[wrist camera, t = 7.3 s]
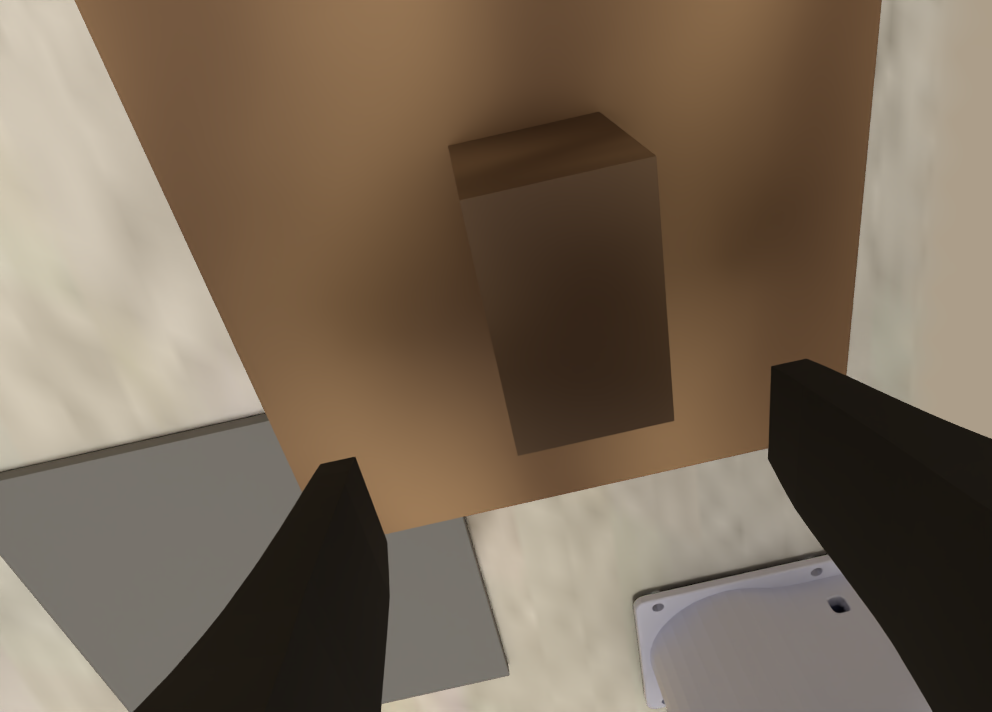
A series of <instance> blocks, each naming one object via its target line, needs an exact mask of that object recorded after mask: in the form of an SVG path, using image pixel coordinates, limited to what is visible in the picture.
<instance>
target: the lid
mask: <svg viewBox="0 0 992 712" xmlns="http://www.w3.org/2000/svg"><path fill="white" fill-rule="evenodd" d="M75 2H76V4H77V7H78V9H79V11H80V13H81V15H82V17H83V20H84V22H85V24H86V26H87V28H88V30H89V33H90V35H91V37H92V39H93V41H94V43H95V46H96V48H97V50H98V52H99V54H100V56H101V58H102V61H103V63H104V65H105V67H106V69H107V71H108V74H109V76H110V78H111V80H112V82H113V84H114V87H115V89H116V91H117V93H118V95H119V97H120V100H121V102H122V104H123V106H124V108H125V110H126V113H127V115H128V117H129V119H130V121H131V123H132V126H133V128H134V130H135V132H136V134H137V136H138V139H139V141H140V143H141V145H142V147H143V149H144V152H145V154H146V156H147V158H148V160H149V162H150V164H151V167H152V169H153V171H154V173H155V175H156V177H157V180H158V182H159V184H160V186H161V188H162V190H163V193H164V195H165V197H166V199H167V201H168V203H169V206H170V208H171V210H172V212H173V214H174V216H175V219H176V221H177V223H178V225H179V227H180V229H181V232H182V234H183V236H184V238H185V240H186V242H187V245H188V247H189V249H190V251H191V253H192V255H193V257H194V260H195V262H196V264H197V266H198V268H199V270H200V273H201V275H202V277H203V279H204V281H205V283H206V286H207V288H208V290H209V292H210V294H211V296H212V299H213V301H214V303H215V305H216V307H217V309H218V312H219V314H220V316H221V318H222V320H223V322H224V325H225V327H226V329H227V331H228V333H229V335H230V338H231V340H232V342H233V344H234V346H235V348H236V351H237V353H238V355H239V357H240V359H241V361H242V363H243V366H244V368H245V370H246V372H247V374H248V376H249V379H250V381H251V383H252V385H253V387H254V389H255V392H256V394H257V396H258V398H259V400H260V402H261V405H262V407H263V409H264V411H265V413H266V415H267V418H268V420H269V422H270V424H271V426H272V428H273V431H274V433H275V435H276V437H277V439H278V441H279V444H280V446H281V448H282V450H283V452H284V454H285V457H286V459H287V461H288V463H289V465H290V467H291V469H292V472H293V474H294V476H295V478H296V480H297V482H298V485H299V487H300V489H301V491H302V492H303V490H304V489H305V487H306V485H307V484H308V482H309V480H310V479H311V477H312V476H313V474H314V473H315V471H316V470H317V468H318V467H319V465H320V464H323V463H327V462H332V461H337V460H341V459H346V458H350V457H356V460H357V462H358V465H359V468H360V470H361V473H362V476H363V478H364V481H365V484H366V486H367V489H368V492H369V494H370V497H371V500H372V502H373V505H374V508H375V510H376V513H377V515H378V518H379V521H380V523H381V526H382V529H383V531H384V534H389V533H393V532H398V531H402V530H407V529H411V528H415V527H420V526H424V525H429V524H433V523H438V522H442V521H447V520H451V519H455V518H460V517H464V516H469V515H473V514H478V513H482V512H486V511H491V510H495V509H500V508H504V507H509V506H513V505H518V504H522V503H526V502H531V501H535V500H540V499H544V498H549V497H553V496H558V495H562V494H566V493H571V492H575V491H580V490H584V489H589V488H593V487H598V486H602V485H606V484H611V483H615V482H620V481H624V480H629V479H633V478H637V477H642V476H646V475H651V474H655V473H660V472H664V471H669V470H673V469H677V468H682V467H686V466H691V465H695V464H700V463H704V462H709V461H713V460H717V459H722V458H726V457H731V456H735V455H740V454H744V453H748V452H753V451H757V450H762V449H766V448H768V445H769V414H770V384H771V366H774V365H778V364H783V363H788V362H792V361H797V360H802V359H809V360H812V361H814V362H817V363H819V364H821V365H824V366H826V367H828V368H831V369H833V370H835V371H837V372H839V373H842V374H844V375H846V373H847V362H848V351H849V341H850V330H851V320H852V309H853V298H854V288H855V277H856V267H857V256H858V246H859V235H860V224H861V214H862V203H863V193H864V182H865V171H866V161H867V150H868V140H869V129H870V119H871V108H872V97H873V87H874V76H875V66H876V55H877V44H878V34H879V23H880V13H881V2H882V0H75Z"/></svg>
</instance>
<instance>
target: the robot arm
mask: <svg viewBox="0 0 992 712" xmlns="http://www.w3.org/2000/svg"><path fill="white" fill-rule="evenodd" d="M768 460H769V462H770V464H771V465H772V467H773V469H774V471H775V473H776V475H777V477H778V479H779V481H780V483H781V485H782V486H783V488H784V490H785V492H786V494H787V495H788V497H789V499H790V501H791V502H792V504H793V506H794V508H795V509H796V511H797V512H798V514H799V515H800V516H801V518H802V519H803V521H804V522H805V523H806V525H807V526H808V528H809V529H810V530H811V532H812V533H813V534H814V536H815V537H816V539H817V540H818V541H819V543H820V544H821V546H822V547H823V548H824V550H825V551H826V552H827V554H828V555H823V556H819V557H814V558H810V559H806V560H801V561H797V562H792V563H788V564H783V565H779V566H774V567H770V568H765V569H761V570H756V571H752V572H747V573H743V574H738V575H734V576H729V577H725V578H721V579H716V580H712V581H707V582H703V583H698V584H694V585H689V586H685V587H680V588H676V589H671V590H667V591H662V592H658V593H653V594H649V595H645V596H641V597H639V598H638V599H636V600H635V602H634V604H633V608H634V616H635V624H636V632H637V640H638V648H639V656H640V664H641V672H642V680H643V688H644V695H645V700H646V704H647V706H648V707H649V708H652V709H657V708H662V707H666V708H667V711H668V712H992V439H991V438H988V437H985V436H983V435H980V434H978V433H975V432H973V431H970V430H968V429H965V428H962V427H960V426H958V425H955V424H953V423H950V422H948V421H946V420H943V419H941V418H939V417H936V416H934V415H932V414H929V413H927V412H925V411H922V410H920V409H918V408H916V407H913V406H911V405H909V404H907V403H905V402H902V401H900V400H898V399H896V398H894V397H891V396H889V395H887V394H885V393H883V392H880V391H878V390H876V389H874V388H872V387H870V386H868V385H865V384H863V383H861V382H859V381H857V380H855V379H852V378H850V377H848V376H846V375H844V374H842V373H839V372H837V371H835V370H833V369H831V368H828V367H826V366H824V365H821V364H819V363H817V362H814V361H812V360H809V359H802V360H797V361H792V362H788V363H783V364H778V365H774V366H771V384H770V414H769V445H768ZM389 602H390V586H389V563H388V544H387V539H386V537H385V534H384V531H383V529H382V526H381V523H380V521H379V518H378V515H377V513H376V510H375V508H374V505H373V502H372V500H371V497H370V494H369V492H368V489H367V486H366V484H365V481H364V478H363V476H362V473H361V470H360V468H359V465H358V462H357V460H356V457H350V458H346V459H341V460H337V461H332V462H327V463H323V464H320V465H319V467H318V468H317V470H316V471H315V473H314V474H313V476H312V477H311V479H310V480H309V482H308V484H307V485H306V487H305V489H304V490H303V492H302V493H301V495H300V497H299V498H298V500H297V501H296V503H295V505H294V506H293V508H292V510H291V511H290V513H289V514H288V516H287V518H286V519H285V521H284V522H283V524H282V526H281V527H280V529H279V530H278V532H277V533H276V535H275V536H274V538H273V539H272V541H271V542H270V544H269V545H268V547H267V548H266V550H265V551H264V553H263V555H262V556H261V558H260V559H259V561H258V562H257V564H256V565H255V566H254V568H253V569H252V571H251V572H250V574H249V575H248V576H247V578H246V579H245V580H244V582H243V583H242V585H241V586H240V587H239V589H238V590H237V591H236V593H235V594H234V596H233V597H232V598H231V600H230V601H229V603H228V604H227V605H226V607H225V608H224V609H223V611H222V612H221V613H220V615H219V616H218V617H217V618H216V620H215V621H214V622H213V623H212V625H211V626H210V627H209V628H208V629H207V631H206V632H205V633H204V634H203V636H202V637H201V638H200V639H199V640H198V641H197V643H196V644H195V645H194V646H193V647H192V648H191V650H190V651H189V652H188V653H187V654H186V655H185V657H184V658H183V659H182V660H181V661H180V662H179V664H178V665H177V666H176V667H175V668H174V669H173V670H172V671H171V673H170V674H169V675H168V676H167V677H166V678H165V679H164V680H163V681H162V682H161V683H160V684H159V685H158V686H157V687H156V688H155V689H154V690H153V691H152V693H151V694H150V695H149V696H148V697H147V698H146V699H145V700H144V701H143V702H142V703H141V704H140V705H139V706H138V707H137V708H136V709H135V710H134V711H133V712H381V704H382V692H383V679H384V667H385V655H386V643H387V630H388V616H389Z"/></svg>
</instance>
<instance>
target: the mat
mask: <svg viewBox="0 0 992 712" xmlns="http://www.w3.org/2000/svg"><path fill="white" fill-rule="evenodd" d="M301 493H302V491H301V489H300V487H299V485H298V482H297V480H296V478H295V476H294V474H293V472H292V469H291V467H290V465H289V463H288V461H287V459H286V457H285V454H284V452H283V450H282V448H281V446H280V444H279V441H278V439H277V437H276V435H275V433H274V431H273V428H272V426H271V424H270V422H269V420H268V418H267V415H266V414H261V415H257V416H252V417H248V418H243V419H239V420H234V421H230V422H225V423H221V424H216V425H212V426H207V427H203V428H199V429H194V430H190V431H185V432H181V433H176V434H172V435H167V436H163V437H158V438H154V439H149V440H145V441H140V442H136V443H131V444H127V445H122V446H118V447H113V448H109V449H104V450H100V451H95V452H91V453H86V454H82V455H78V456H73V457H69V458H64V459H60V460H55V461H51V462H46V463H42V464H37V465H33V466H28V467H24V468H19V469H15V470H10V471H6V472H1V473H0V556H1V557H2V558H3V559H4V561H5V562H6V563H7V564H8V565H9V567H10V568H11V569H12V570H13V571H14V573H15V574H16V575H17V576H18V577H19V579H20V580H21V581H22V582H23V584H24V585H25V586H26V587H27V588H28V590H29V591H30V592H31V593H32V594H33V596H34V597H35V598H36V599H37V601H38V602H39V603H40V604H41V605H42V607H43V608H44V609H45V610H46V611H47V613H48V614H49V615H50V616H51V618H52V619H53V620H54V621H55V622H56V624H57V625H58V626H59V627H60V628H61V630H62V631H63V632H64V633H65V634H66V636H67V637H68V638H69V639H70V641H71V642H72V643H73V644H74V645H75V647H76V648H77V649H78V650H79V651H80V653H81V654H82V655H83V656H84V658H85V659H86V660H87V661H88V662H89V664H90V665H91V666H92V667H93V668H94V670H95V671H96V672H97V673H98V674H99V676H100V677H101V678H102V679H103V681H104V682H105V683H106V684H107V685H108V687H109V688H110V689H111V690H112V691H113V693H114V694H115V695H116V696H117V698H118V699H119V700H120V701H121V702H122V704H123V705H124V706H125V707H126V708H127V710H128V711H129V712H133V711H134V710H135V709H136V708H137V707H138V706H139V705H140V704H141V703H142V702H143V701H144V700H145V699H146V698H147V697H148V696H149V695H150V694H151V693H152V691H153V690H154V689H155V688H156V687H157V686H158V685H159V684H160V683H161V682H162V681H163V680H164V679H165V678H166V677H167V676H168V675H169V674H170V673H171V671H172V670H173V669H174V668H175V667H176V666H177V665H178V664H179V662H180V661H181V660H182V659H183V658H184V657H185V655H186V654H187V653H188V652H189V651H190V650H191V648H192V647H193V646H194V645H195V644H196V643H197V641H198V640H199V639H200V638H201V637H202V636H203V634H204V633H205V632H206V631H207V629H208V628H209V627H210V626H211V625H212V623H213V622H214V621H215V620H216V618H217V617H218V616H219V615H220V613H221V612H222V611H223V609H224V608H225V607H226V605H227V604H228V603H229V601H230V600H231V598H232V597H233V596H234V594H235V593H236V591H237V590H238V589H239V587H240V586H241V585H242V583H243V582H244V580H245V579H246V578H247V576H248V575H249V574H250V572H251V571H252V569H253V568H254V566H255V565H256V564H257V562H258V561H259V559H260V558H261V556H262V555H263V553H264V551H265V550H266V548H267V547H268V545H269V544H270V542H271V541H272V539H273V538H274V536H275V535H276V533H277V532H278V530H279V529H280V527H281V526H282V524H283V522H284V521H285V519H286V518H287V516H288V514H289V513H290V511H291V510H292V508H293V506H294V505H295V503H296V501H297V500H298V498H299V497H300V495H301ZM385 537H386V539H387V544H388V563H389V586H390V602H389V616H388V630H387V643H386V655H385V667H384V679H383V692H382V704H384V703H388V702H393V701H397V700H402V699H406V698H411V697H415V696H420V695H424V694H429V693H433V692H438V691H442V690H446V689H451V688H455V687H460V686H464V685H469V684H473V683H478V682H482V681H487V680H491V679H496V678H500V677H505V676H509V668H508V663H507V660H506V657H505V653H504V650H503V646H502V643H501V640H500V636H499V633H498V630H497V626H496V623H495V619H494V616H493V613H492V609H491V606H490V602H489V599H488V596H487V592H486V589H485V585H484V582H483V579H482V575H481V572H480V568H479V565H478V562H477V558H476V555H475V552H474V548H473V545H472V541H471V538H470V535H469V531H468V528H467V524H466V521H465V518H464V517H460V518H455V519H451V520H447V521H442V522H438V523H433V524H429V525H424V526H420V527H415V528H411V529H407V530H402V531H398V532H393V533H389V534H385Z"/></svg>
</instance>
